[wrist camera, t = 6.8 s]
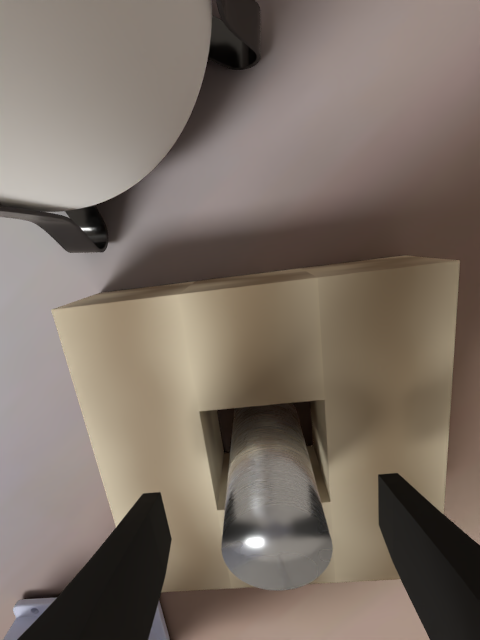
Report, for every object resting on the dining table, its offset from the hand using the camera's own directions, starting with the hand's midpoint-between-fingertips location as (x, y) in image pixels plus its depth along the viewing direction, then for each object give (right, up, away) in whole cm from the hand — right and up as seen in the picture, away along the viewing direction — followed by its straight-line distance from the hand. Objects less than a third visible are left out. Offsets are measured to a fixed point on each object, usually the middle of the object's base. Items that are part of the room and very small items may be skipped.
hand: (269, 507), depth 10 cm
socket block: (0, +2, +5) cm, 6 cm away
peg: (0, +1, +6) cm, 6 cm away
